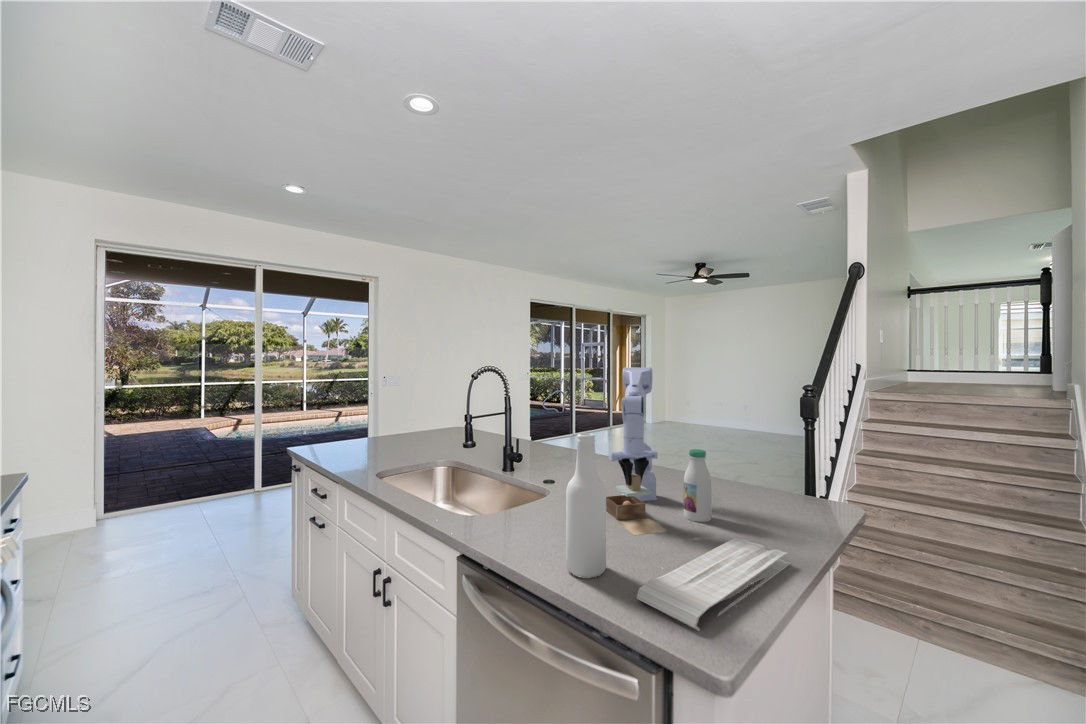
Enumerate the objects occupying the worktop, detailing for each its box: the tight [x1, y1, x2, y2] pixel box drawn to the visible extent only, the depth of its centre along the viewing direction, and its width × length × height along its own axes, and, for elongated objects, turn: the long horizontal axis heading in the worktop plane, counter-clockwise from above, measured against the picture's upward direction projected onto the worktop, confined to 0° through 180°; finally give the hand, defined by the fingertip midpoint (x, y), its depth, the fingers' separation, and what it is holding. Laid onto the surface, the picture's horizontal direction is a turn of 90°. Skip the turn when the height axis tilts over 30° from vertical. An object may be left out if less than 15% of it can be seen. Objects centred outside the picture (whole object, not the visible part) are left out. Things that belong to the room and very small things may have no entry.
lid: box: [615, 473, 652, 497], centre depth 127 cm, size 8×8×5 cm
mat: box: [618, 518, 668, 536], centre depth 122 cm, size 10×10×1 cm
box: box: [606, 494, 646, 521], centre depth 133 cm, size 9×9×4 cm
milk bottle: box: [683, 448, 712, 523], centre depth 129 cm, size 8×8×20 cm
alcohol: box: [565, 432, 607, 578], centre depth 98 cm, size 9×9×30 cm
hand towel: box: [636, 537, 791, 632], centre depth 92 cm, size 12×4×40 cm
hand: (633, 484), depth 127 cm, fingers closed on lid, 2 cm apart
